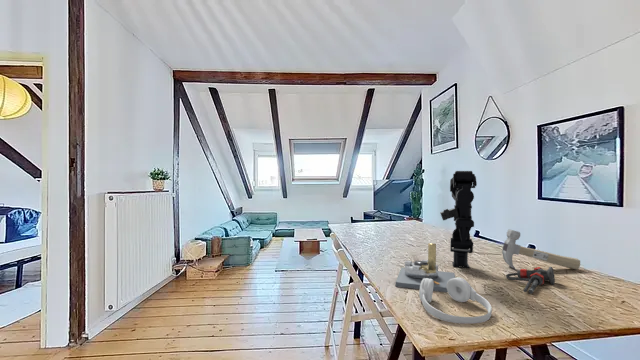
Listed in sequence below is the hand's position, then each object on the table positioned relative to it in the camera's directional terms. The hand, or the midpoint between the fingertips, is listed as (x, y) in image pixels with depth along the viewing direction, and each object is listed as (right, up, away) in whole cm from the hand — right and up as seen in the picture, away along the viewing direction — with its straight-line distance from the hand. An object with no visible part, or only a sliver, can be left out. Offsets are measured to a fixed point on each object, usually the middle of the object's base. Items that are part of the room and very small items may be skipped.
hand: (462, 241), depth 128 cm
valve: (+19, -14, -10) cm, 26 cm away
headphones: (-18, -14, -34) cm, 40 cm away
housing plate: (-17, -13, -8) cm, 23 cm away
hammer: (+38, -14, +10) cm, 41 cm away
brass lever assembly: (-18, -11, -8) cm, 23 cm away
